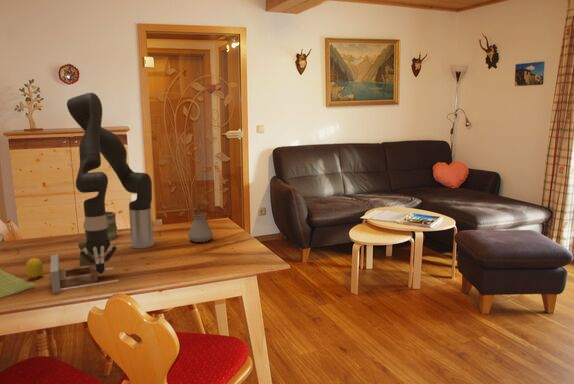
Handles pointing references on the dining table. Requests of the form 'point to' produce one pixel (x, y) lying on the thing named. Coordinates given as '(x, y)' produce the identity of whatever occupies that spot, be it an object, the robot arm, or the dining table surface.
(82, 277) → the socket block
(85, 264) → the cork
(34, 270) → the lemon
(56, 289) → the backstop
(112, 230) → the mug
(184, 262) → the dining table surface
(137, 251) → the dining table surface
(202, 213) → the coffee pot
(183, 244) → the dining table surface
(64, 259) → the dining table surface
